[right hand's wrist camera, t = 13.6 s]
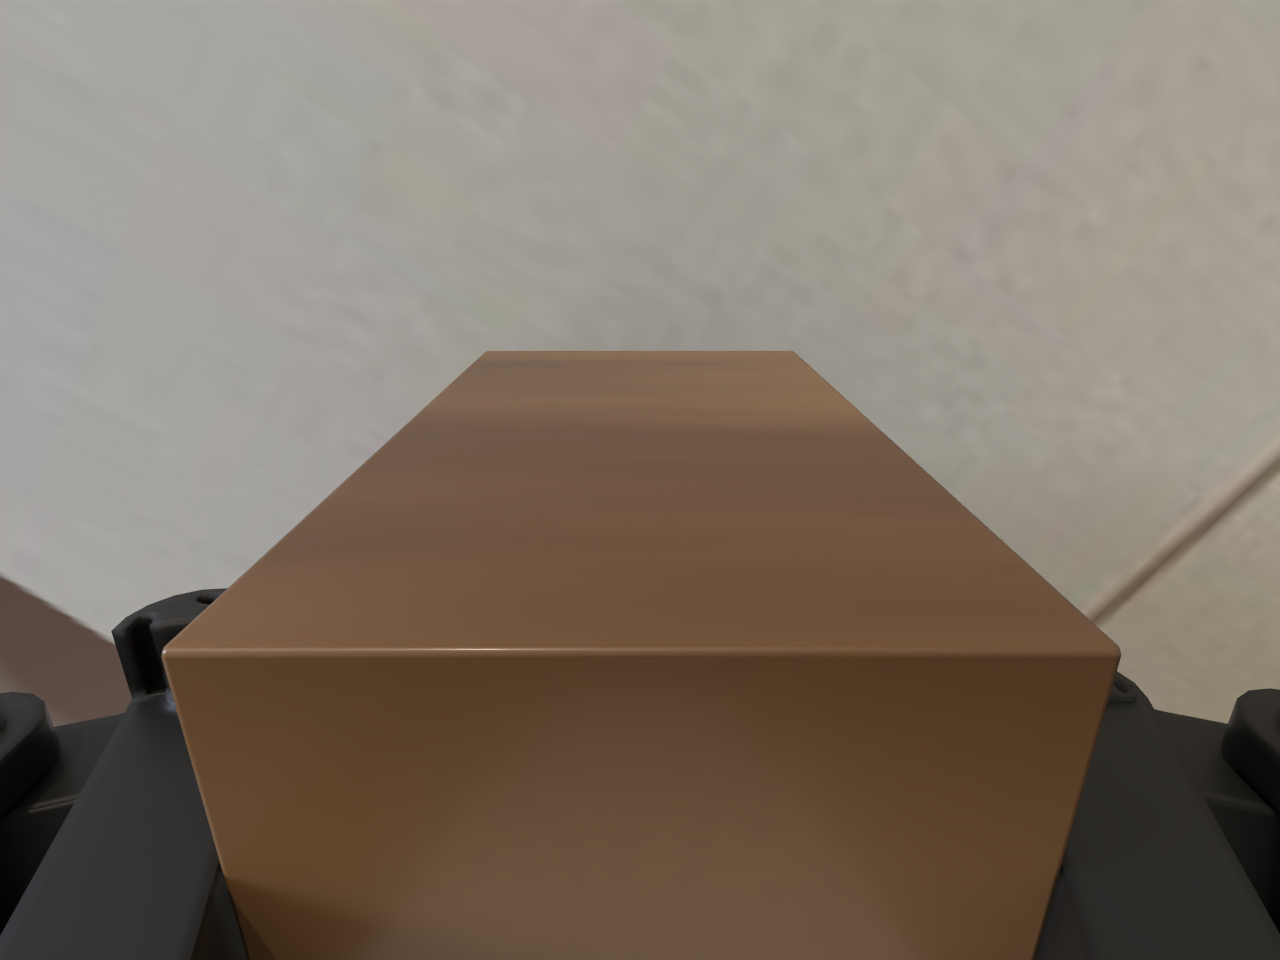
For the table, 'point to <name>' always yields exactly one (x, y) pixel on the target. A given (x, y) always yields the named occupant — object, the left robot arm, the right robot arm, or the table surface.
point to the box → (640, 687)
